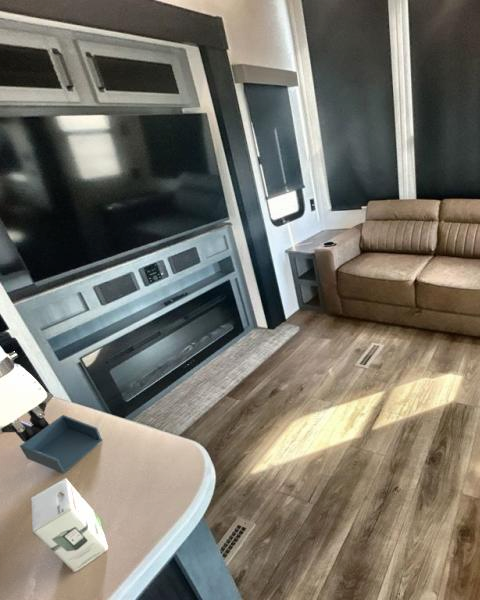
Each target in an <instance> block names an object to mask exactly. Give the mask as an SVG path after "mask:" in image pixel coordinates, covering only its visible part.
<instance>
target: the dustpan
mask: <svg viewBox="0 0 480 600" xmlns="http://www.w3.org/2000/svg"><path fill="white" fill-rule="evenodd" d="M19 421H20V420H19ZM20 422H21V423H22V425H23V426H25V427H27V428H30V429H31V430H32V432H33V433H34V434H35V435H34V436H33V437H32V438H30V439H29V440H28V441H26V442H23V443H22V444H21V445H19V448H20V449H21V451H22V452H23V454H24V456H25V457H26V459H27V460H30V461H33V462H34V463H36V464H39V465H42V466H44V467H47V468H49V469H52V470H54V471H57V472H58V473H61V474H65V473H66V472H68V471H69V470H70V469H72V467H74V466H75V465H76V464H77V463H78V462H79V461H80V460H81V459H83V458H84V457H85V456H86V455H87V454H89V453H90V451H92V450H94V448H96V447H97V446H98V445H99V444H100V443H101V442H102V441H103V439H102V437H101V434H100V432H99V429H98V427H96V426H94V425H90V424H89V423H86V422H83V421H80V420H78V419H75V418H73V417H70V416H68V415H65V414H62V415H61V416H59V417H57V419H55V420H53V421H52V422H51V423H49V425H48V426H47V427H46V428H44V429H41V428H39V427H36V426H34V425H33V424H32V423H28V422H25V421H23V420H21V421H20Z"/></svg>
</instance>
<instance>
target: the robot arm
mask: <svg viewBox="0 0 480 600" xmlns="http://www.w3.org/2000/svg"><path fill="white" fill-rule="evenodd" d="M18 357H19V355H18V354H17V352H15V351H12V352H10V353H6V352H5V350H4V349H3V348H2V346H1V345H0V435H2V434H5V433H16V435H17V436H18V438H19V439H20V440H21V441H23V443H25V442H26V441H28V440H29V439H30V438H32V437H33V436H34V435H35V434H34V433H33V432H32V430H31V429H30V428H27V427H25V426H23V425H22V423H21V422H20V420H19V419H20V418H21V417H22V416H24V415H25V414H28V416H29V417H30V418H29V422H30V424H31V425H34V426H36V427H39V428H41V429H44V428H46V427H47V426H48V425H50V423H49V422H48V421H47V419H46V418H45V416H46V413H45V411H46V408H47V404H48V403H49V402H50V401H51V400H52V399H53V397H54V394H52V393H51V392H48V391H46V390H45V388H44V387H43V386H42V385H41V383H40V382H39V381H38V380H37V379H36V378H35V377H34V376H33V375H32V374H31V373H30V372H29V371H27V370H26V368H24V367H23V366H21V364H18V363H16V362H15V359H16V358H18Z"/></svg>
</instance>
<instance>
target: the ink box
mask: <svg viewBox="0 0 480 600" xmlns="http://www.w3.org/2000/svg"><path fill="white" fill-rule="evenodd" d="M30 503H31V504H30V505H31V524H32V526H31V527H32V533H33V534H34V535H36V537H37V538H39V539H40V541H42V542H43V543H44V544H45V545H46V546H47V547H48V548H49V549H50V550H51V551H52V552H53V553H54V554H55V555H56V556H57V557H58V558H59V559H60V560H61V561H62V562H63V563H64V564H65V565H66V566H67V567H68V568H69V569H70V570H71V571H72V572H73V573H76V572H78V571H80V570H81V569H83V568H84V567H85V566H87V565H88V564H90V563H91V562H92V561H94V560H95V559H97V558H98V557H100V556H102V555H103V554H104V553H105V552H107V551H108V549H109V546H108V541H107V539H106V535H105V532H104V529H103V525H102V522H101V518H100V517H99V516H98V515H97V513H96V512H95V511H94V509H93V508H92V507H91V506H90V505H89V503H88V502H87V501H86V500H85V499H84V498H83V496H82V495H81V494H80V493H79V492H78V490H76V488H75V487H74V486H73V484H71V482H70V481H69V480H68V478H67V477H66V478H63V479H61V480H60V481H57V482H56V483H54V484H53V485H51V486H49V487H47V488H45V489H43V490H42V491H40V492H38V493H37V494H35V495H33V496H32V497H31V498H30Z"/></svg>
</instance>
